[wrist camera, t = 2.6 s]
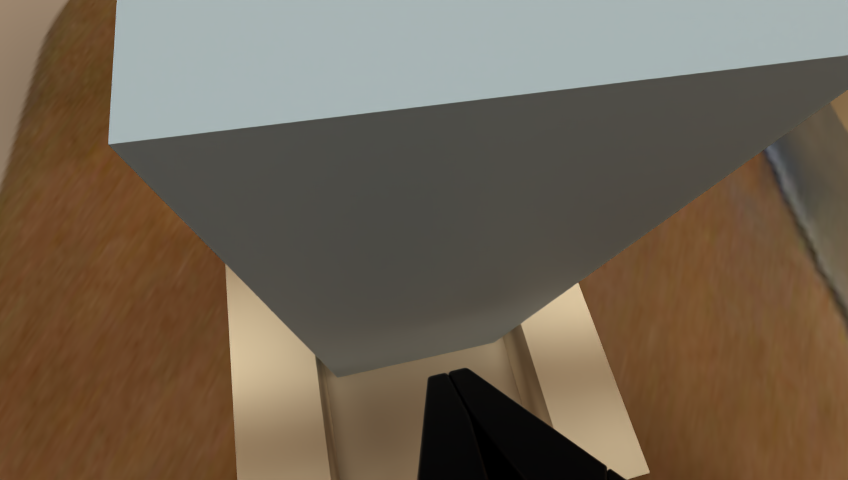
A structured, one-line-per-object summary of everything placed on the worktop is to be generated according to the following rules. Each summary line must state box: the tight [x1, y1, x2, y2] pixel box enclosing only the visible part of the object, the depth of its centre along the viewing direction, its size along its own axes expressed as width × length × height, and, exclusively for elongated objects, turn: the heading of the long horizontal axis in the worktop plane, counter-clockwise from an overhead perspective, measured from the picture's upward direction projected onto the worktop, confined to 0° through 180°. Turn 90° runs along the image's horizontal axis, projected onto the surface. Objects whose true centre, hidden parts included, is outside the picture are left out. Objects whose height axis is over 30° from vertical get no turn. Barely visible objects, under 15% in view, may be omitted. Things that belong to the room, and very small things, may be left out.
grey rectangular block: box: [108, 0, 848, 378], centre depth 11 cm, size 6×6×14 cm
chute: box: [225, 264, 650, 480], centre depth 17 cm, size 19×12×3 cm, turn 13°
